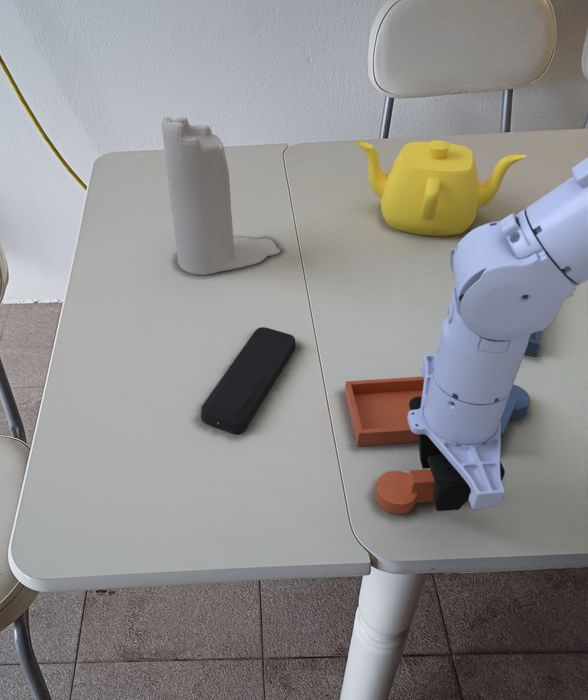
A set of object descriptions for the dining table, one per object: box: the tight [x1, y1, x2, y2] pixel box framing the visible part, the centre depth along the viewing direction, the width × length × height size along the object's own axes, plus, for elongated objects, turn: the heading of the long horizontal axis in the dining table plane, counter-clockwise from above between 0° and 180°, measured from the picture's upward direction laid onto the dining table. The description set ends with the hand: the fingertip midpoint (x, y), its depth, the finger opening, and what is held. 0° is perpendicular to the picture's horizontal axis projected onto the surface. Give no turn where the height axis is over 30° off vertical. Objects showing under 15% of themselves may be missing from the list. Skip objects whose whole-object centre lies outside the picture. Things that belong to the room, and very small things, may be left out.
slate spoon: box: [500, 384, 531, 441], centre depth 63 cm, size 8×4×3 cm, turn 148°
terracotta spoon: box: [374, 468, 435, 516], centre depth 57 cm, size 8×4×3 cm, turn 93°
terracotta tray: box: [344, 376, 424, 447], centre depth 65 cm, size 11×7×2 cm, turn 93°
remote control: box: [200, 326, 297, 434], centre depth 69 cm, size 5×2×15 cm
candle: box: [161, 116, 281, 276], centre depth 81 cm, size 7×14×20 cm, turn 106°
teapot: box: [355, 139, 527, 237], centre depth 88 cm, size 22×16×11 cm
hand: (439, 485), depth 57 cm, fingers open, 4 cm apart
